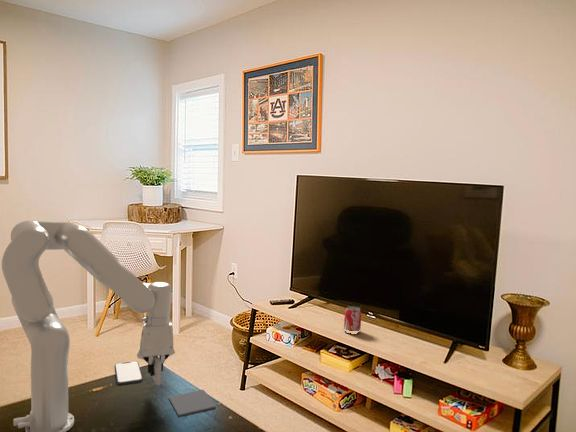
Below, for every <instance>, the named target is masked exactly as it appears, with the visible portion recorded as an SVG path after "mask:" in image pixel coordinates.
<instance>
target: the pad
mask: <svg viewBox="0 0 576 432" xmlns="http://www.w3.org/2000/svg"><path fill="white" fill-rule="evenodd" d="M168 400H169V402H170V403H171V405H172V407H173V409H174V411H175V413H176V415H177V416H178V417H182V416H187V415H190V414H195V413H199V412H203V411H208V410H213V409H216V405H215V403H214V402H213V401H212V400H211V398H210V396H209V395H208V394H207V392H206V390H205V389H201V390H196V391H191V392H186V393H182V394H181V393H180V394H176V395H172V396H168Z"/></svg>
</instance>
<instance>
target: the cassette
mask: <svg viewBox="0 0 576 432" xmlns="http://www.w3.org/2000/svg"><path fill="white" fill-rule="evenodd" d="M153 364H154V373H153V376H151V377H152V379H153V382H154V383H155V384H156V385H157V386H160V385H161V384H162V371H161V364H162V363H161V361H160V359H159V356H153Z"/></svg>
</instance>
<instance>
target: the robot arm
mask: <svg viewBox="0 0 576 432" xmlns="http://www.w3.org/2000/svg"><path fill="white" fill-rule="evenodd" d="M47 250H48V251H49V250H51V251H52V250H54V251H55V250H64V252H65V253H67V254H68V255H69V256H70V257H71V258H72V259H73V260H74V261H76V262H77V263H78V264H79V265H80V266H81V267H82V268H83V269H85V270H86V271H87V273H89V275H91V276H92V278H93V277H94V278H95V280H97V281H98V282H99V283H100V284H102V285H103V286H105V287H107V288H108V289H109V290H110V291H112V292H113V293H114V294H115V295H117V296H118V297H119V298H120V299H121V301H122V302H123V303H124V304H125V305H126V306H127V307H129V308H130V309H131V310H132V311H134V312H136V313H139V314H144V313H145V316H144V317H142V318H141V321H140V322H141V323H143V327H142V331H141V335H140V344H139V350H138V352H137V354H136V357H137V359H139V360H143V361H145V362H146V363H147V373H148V374H149V375H150V377H152V376H153V373H154V364H153V356H158V357H159V359H160V361H161V363H162V364H161V372H163V371H164V363H165V362H166V360H167V359H168V358H169V357H171V356H173V355H174V354H176V350H175V349H174V328H173V324H172V322H170V320H171V319H170V318H171V302H172V301H171V300H172V286H171V284H170V283H168V282H164V281H155V282H150V283H149V282H148V283H147V282H143V281H142V280H141V279H140V278H139V277H138V276H136V275H135V274H134V273H133V272H132V271H131V270H130V269H129V268H127V266H126V265H125V264H124V263H123V262H122V261H121V260H120V259H119V258H118V257H117V256H116V255H115V254H114V253H112V251H110V249H109V248H107V247H106V246H105V245H104V243H102V242H101V241H100V240H99V238H97V237H96V236H95V235H94V234H93V233H92V232H91V231H90V230H88V228H86V227H84V226H82V225H80V224H78V223H76V222H69V221H67V222H66V221H65V222H63V221H40V220H25V221H24V220H23V221H21V222H18V223H17V224H15V226H14V227H13V228H12V229H11V231H10V243H8V245H7V247H6V248H5V251H4V252H3V254H2V258H1V269H2V274H3V277H4V280H5V283H6V284H7V288H8V291H9V293H10V295H11V304H12V306H13V308H14V311H15V313H16V316H17V318H18V321H19V323H20V324H21V327H22V328H23V331H24V334H25V335H26V339H27V340H28V342H29V344H30V350H31V351H30V353H31V355H30V356H31V357H30V358H31V359H30V397H31V398H30V401H31V403H30V405H31V406H30V407H31V409H30V411H29V412H30V413H29V414H26V416H23V417H16V418H15V417H14V418H13V427H16V426H17V429H23V428H25V432H67V431H69V430H70V429H71V428H72V427H73V426H74V424H75V416H74V415H73V414H72V413H70V412H69V351H70V342H71V340H70V339H71V338H70V334H69V331H68V329H67V327H66V326H65V325H64V323H63V322H62V320H61V319H60V318H59V316H58V313H57V312H56V309H55V307H54V298H53V296H52V294H51V292H50V291H49V289H48V287H47V284H46V282H45V280H44V277H43V274H42V271H41V269H40V264H39V262H40V258H41V256H42V255H43V253H45V251H47Z"/></svg>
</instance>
